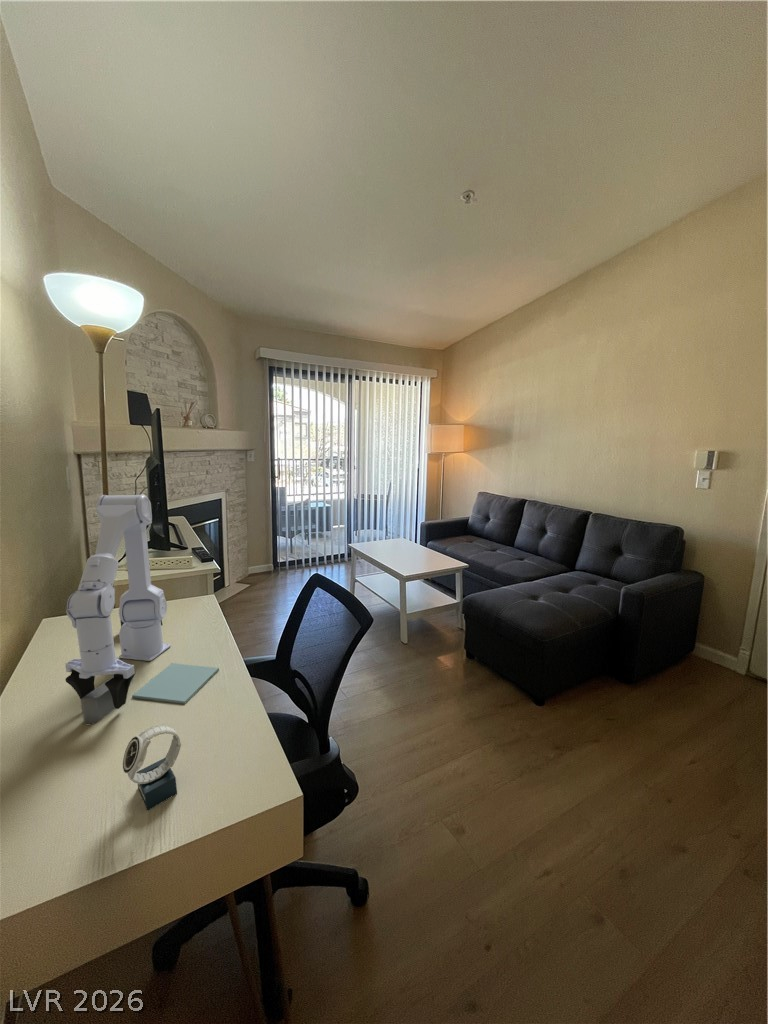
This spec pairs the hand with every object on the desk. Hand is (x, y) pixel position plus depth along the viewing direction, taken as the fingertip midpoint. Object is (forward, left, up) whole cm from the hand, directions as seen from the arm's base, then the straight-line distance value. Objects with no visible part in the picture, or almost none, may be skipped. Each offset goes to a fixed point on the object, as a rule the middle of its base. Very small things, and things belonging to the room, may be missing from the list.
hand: (104, 703), depth 83 cm
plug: (0, 0, -1) cm, 1 cm away
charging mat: (+9, +11, -1) cm, 14 cm away
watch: (+25, -16, -2) cm, 30 cm away
